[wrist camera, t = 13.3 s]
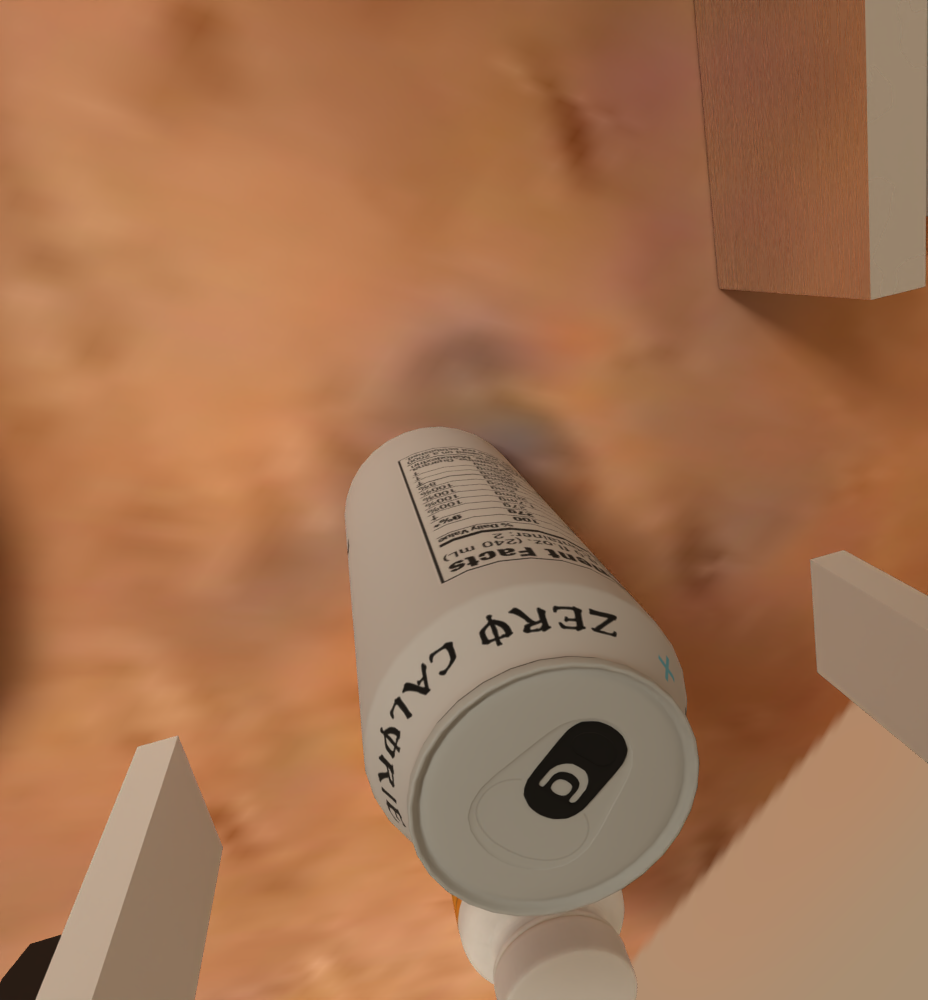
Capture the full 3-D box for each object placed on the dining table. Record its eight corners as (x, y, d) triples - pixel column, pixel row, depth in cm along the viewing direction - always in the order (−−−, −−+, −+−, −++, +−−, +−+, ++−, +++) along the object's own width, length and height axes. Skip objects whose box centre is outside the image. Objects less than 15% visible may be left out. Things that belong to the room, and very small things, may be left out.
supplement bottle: (405, 809, 30) (441, 1053, 21) (473, 701, 29) (542, 907, 20) (517, 849, 31) (597, 1092, 22) (585, 748, 30) (697, 958, 21)
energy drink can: (309, 528, 25) (290, 862, 11) (412, 385, 24) (530, 553, 10) (448, 614, 27) (580, 989, 13) (548, 483, 26) (804, 737, 12)
